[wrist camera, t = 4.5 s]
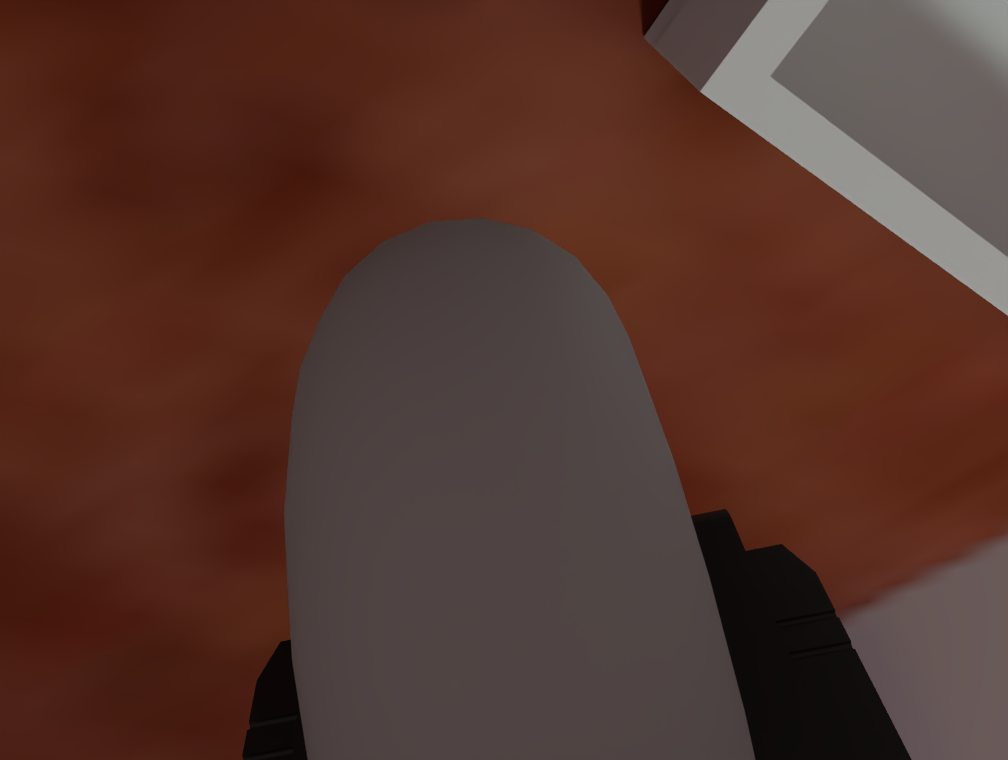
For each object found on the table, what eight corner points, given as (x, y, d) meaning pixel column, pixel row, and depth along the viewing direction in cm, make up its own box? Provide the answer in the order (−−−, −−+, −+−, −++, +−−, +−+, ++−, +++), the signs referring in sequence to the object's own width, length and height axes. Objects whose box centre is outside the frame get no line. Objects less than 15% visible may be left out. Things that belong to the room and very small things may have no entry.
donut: (654, 602, 17) (871, 1372, 9) (475, 639, 17) (518, 1426, 9) (556, 73, 12) (872, 726, 3) (301, 133, 12) (-4, 897, 4)
